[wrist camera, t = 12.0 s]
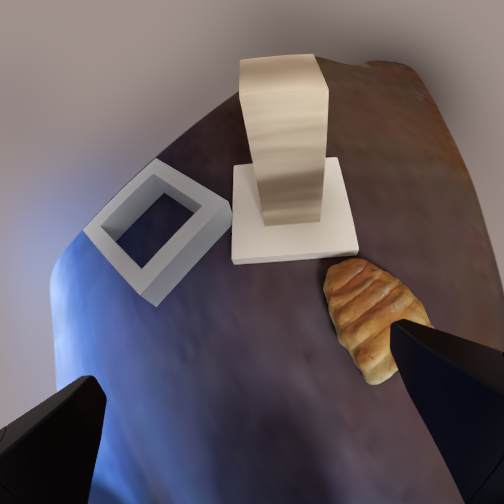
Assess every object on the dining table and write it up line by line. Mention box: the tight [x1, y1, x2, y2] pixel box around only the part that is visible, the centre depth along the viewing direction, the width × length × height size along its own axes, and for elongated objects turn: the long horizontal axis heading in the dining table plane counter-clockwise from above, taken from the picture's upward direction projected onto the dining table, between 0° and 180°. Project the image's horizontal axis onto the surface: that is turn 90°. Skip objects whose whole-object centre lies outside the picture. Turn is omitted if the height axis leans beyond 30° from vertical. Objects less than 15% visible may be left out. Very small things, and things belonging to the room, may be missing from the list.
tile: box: [232, 157, 359, 265], centre depth 26 cm, size 10×10×1 cm
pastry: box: [323, 258, 434, 385], centre depth 19 cm, size 9×7×4 cm
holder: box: [83, 158, 233, 307], centre depth 26 cm, size 10×10×3 cm
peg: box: [239, 54, 329, 226], centre depth 20 cm, size 4×4×12 cm
